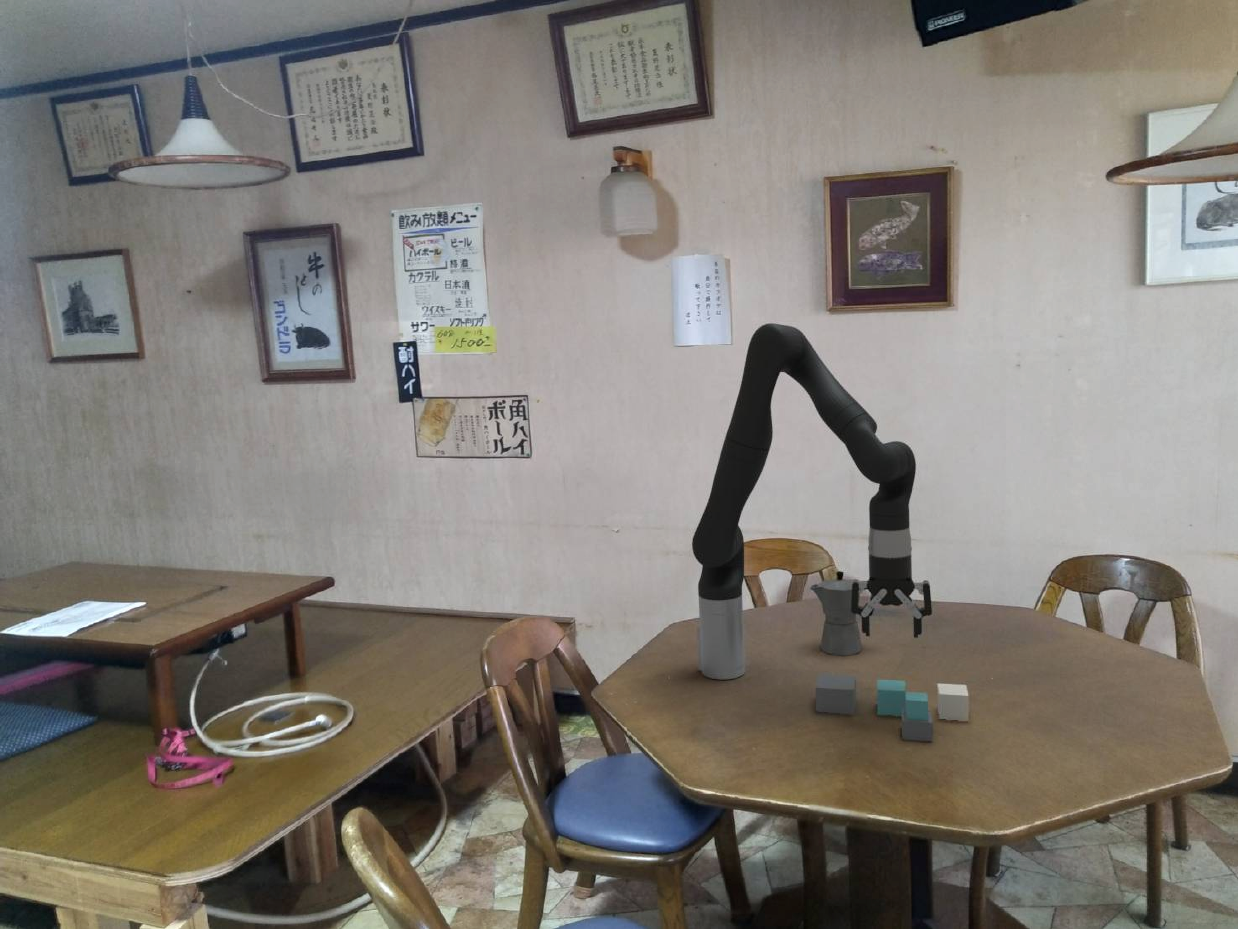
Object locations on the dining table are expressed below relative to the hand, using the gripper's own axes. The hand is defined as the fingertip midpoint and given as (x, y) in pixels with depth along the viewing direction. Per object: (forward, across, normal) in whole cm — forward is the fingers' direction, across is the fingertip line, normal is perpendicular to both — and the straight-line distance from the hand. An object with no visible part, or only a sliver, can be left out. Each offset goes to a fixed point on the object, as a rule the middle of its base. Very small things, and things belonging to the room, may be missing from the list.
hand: (891, 635), depth 164 cm
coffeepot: (+15, +10, -32) cm, 36 cm away
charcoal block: (+15, +10, 0) cm, 18 cm away
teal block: (+15, 0, 0) cm, 15 cm away
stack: (+15, -4, +10) cm, 18 cm away
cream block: (+15, -10, 0) cm, 18 cm away
